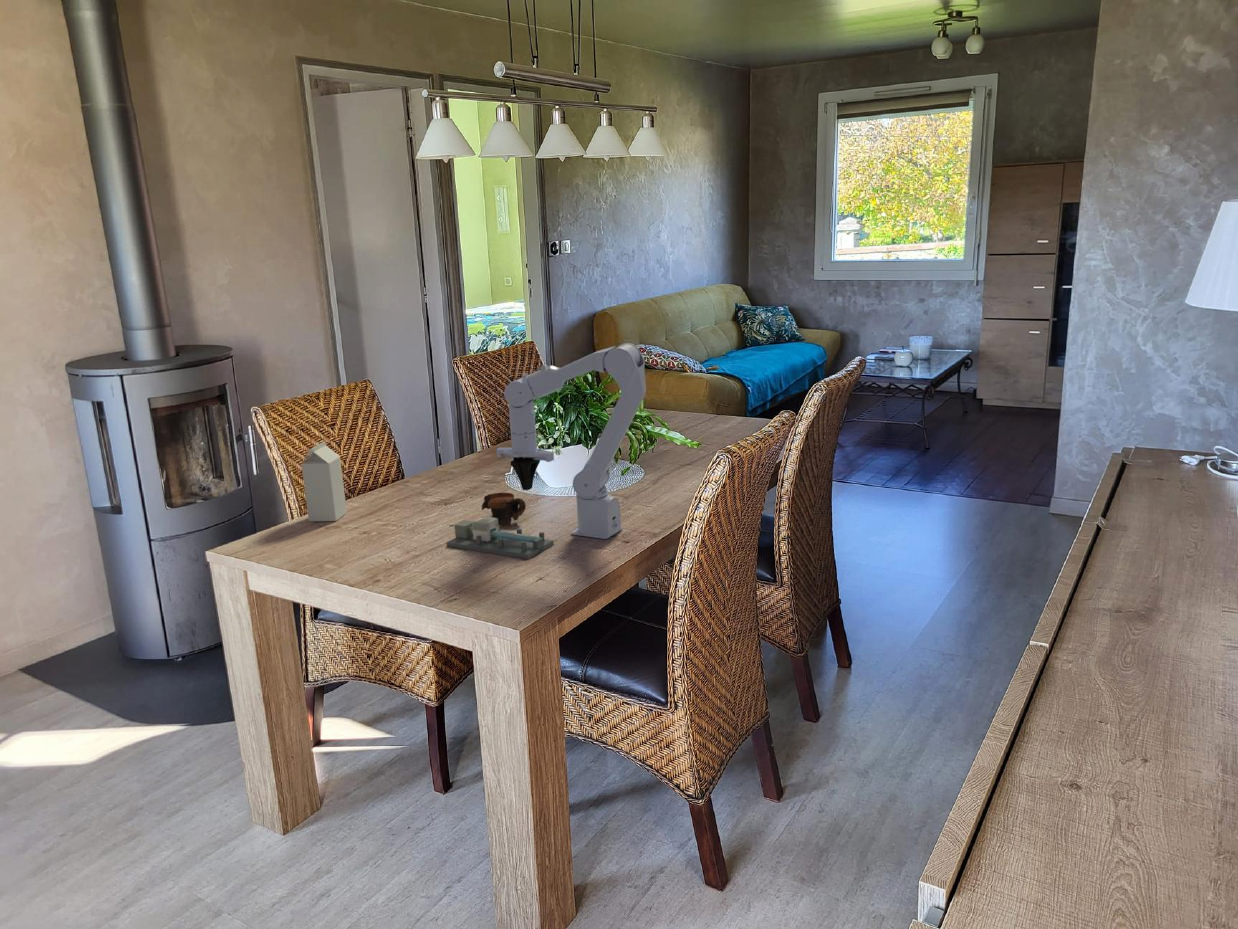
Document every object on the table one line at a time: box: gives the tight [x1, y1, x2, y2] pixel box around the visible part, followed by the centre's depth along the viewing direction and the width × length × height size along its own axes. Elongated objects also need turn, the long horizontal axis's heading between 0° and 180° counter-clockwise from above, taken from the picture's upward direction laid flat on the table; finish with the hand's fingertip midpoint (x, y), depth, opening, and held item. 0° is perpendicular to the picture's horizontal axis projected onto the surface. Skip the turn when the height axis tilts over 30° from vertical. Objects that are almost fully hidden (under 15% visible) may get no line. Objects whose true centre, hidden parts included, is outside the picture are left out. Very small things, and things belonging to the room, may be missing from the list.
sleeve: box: [472, 516, 499, 541], centre depth 205 cm, size 4×4×4 cm
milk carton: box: [300, 440, 348, 522], centre depth 229 cm, size 7×7×19 cm
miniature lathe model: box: [446, 519, 555, 560], centre depth 204 cm, size 22×10×4 cm, turn 61°
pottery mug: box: [481, 492, 527, 526], centre depth 221 cm, size 12×10×8 cm
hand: (527, 489), depth 212 cm, fingers closed
